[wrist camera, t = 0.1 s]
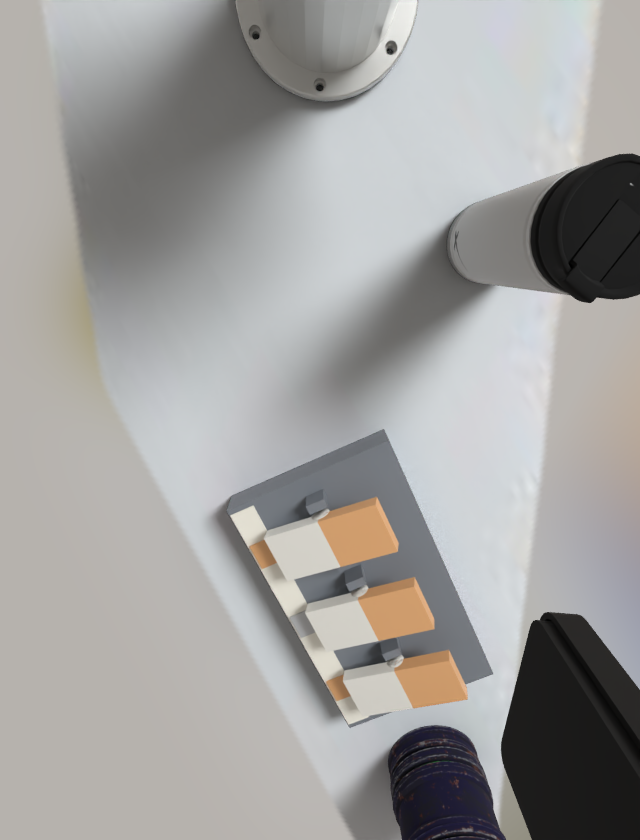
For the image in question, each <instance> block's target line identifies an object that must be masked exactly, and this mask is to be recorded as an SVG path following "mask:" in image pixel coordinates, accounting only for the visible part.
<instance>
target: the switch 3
mask: <svg viewBox="0 0 640 840" xmlns="http://www.w3.org/2000/svg"><path fill="white" fill-rule="evenodd" d="M343 683H344V684H345V686H346V688H347V690H348V692H349V693H350V695H351V697H352V699H353V701H354V702H355V704H356V706H357V708H358V710H359V711H360V713H361V715H362V717H364V716H370V715H376V714H382V713H388V712H394V711H400V710H406V709H412V708H418V707H424V706H430V705H436V704H443V703H449V702H455V701H461V700H467V699H468V697H467V687H466V685H465V683H464V681H463V679H462V677H461V674H460V672H459V670H458V668H457V666H456V664H455V662H454V660H453V657H452V655H451V653H450V651H449V650H446V651H440V652H435V653H430V654H425V655H420V656H415V657H410V658H405V659H404V657H403V656H402V655H400V656H398V657H395V658H392V659H390V660H387V662H385V663H380V664H375V665H370V666H365V667H360V668H355V669H350V670H345V671H344V677H343Z"/></svg>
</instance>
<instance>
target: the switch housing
mask: <svg viewBox="0 0 640 840" xmlns="http://www.w3.org/2000/svg"><path fill="white" fill-rule="evenodd" d="M374 497H377V498H378V500H379V502H380V504H381V506H382V509H383V511H384V513H385V515H386V517H387V519H388V521H389V523H390V526H391V528H392V530H393V532H394V534H395V536H396V538H397V540H398V543H399V544H398V552H395V553H391V554H388V555H384V556H380V557H376V558H373V559H369V560H365V561H361V562H358V563H354V564H350V565H346V566H343V567H339V568H335V569H332V570H328V571H324V572H320V573H317V574H313V575H309V576H305V577H302V578H298V579H294V580H290V581H287V580H286V578H285V576H284V574H283V572H282V571H281V569H280V567H279V565H278V563H277V561H276V560H275V558H274V556H273V554H272V552H271V551H270V549H269V547H268V545H267V543H266V542H265V540H264V537H265V535H266V533H267V531H268V530H270V529H274V528H277V527H280V526H283V525H287V524H290V523H293V522H296V521H300V520H303V519H306V518H309V517H312V515H313V514H314V513H315V512H318V511H320V510H323V509H325V508H328V509H329V510H330V511H332V510H335V509H339V508H342V507H345V506H348V505H352V504H355V503H358V502H361V501H365V500H368V499H371V498H374ZM227 513H228V514H229V516H230V518H231V520H232V521H233V523H234V525H235V527H236V528H237V530H238V532H239V534H240V535H241V537H242V539H243V541H244V543H245V544H246V546H247V548H248V550H249V551H250V553H251V555H252V557H253V558H254V560H255V562H256V564H257V565H258V567H259V569H260V571H261V573H262V574H263V576H264V578H265V580H266V581H267V583H268V585H269V587H270V588H271V590H272V592H273V594H274V595H275V597H276V599H277V601H278V602H279V604H280V606H281V608H282V610H283V611H284V613H285V615H286V617H287V618H288V620H289V622H290V624H291V625H292V627H293V629H294V631H295V632H296V634H297V636H298V638H299V639H300V641H301V643H302V645H303V647H304V648H305V650H306V652H307V654H308V655H309V657H310V659H311V661H312V662H313V664H314V666H315V668H316V669H317V671H318V673H319V675H320V676H321V678H322V680H323V682H324V684H325V685H326V687H327V689H328V691H329V692H330V694H331V696H332V698H333V699H334V701H335V703H336V705H337V706H338V708H339V710H340V712H341V714H342V715H343V717H344V719H345V721H346V722H347V724H348V726H349V728H351V727H353V726H356V725H359V724H361V723H364V722H367V721H369V720H372V719H375V718H377V717H380V716H383V715H385V714H388V713H391V712H388V713H382V714H376V715H370V716H364V717H362V715H361V713H360V711H359V710H358V708H357V706H356V704H355V702H354V701H353V699H352V697H351V695H350V693H349V692H348V690H347V688H346V686H345V684H344V683H343V677H344V671H345V670H350V669H355V668H360V667H365V666H370V665H375V664H380V663H385V662H387V660H390V659H392V658H395V657H398V656H400V655H402V656H403V657H404V659H405V658H410V657H415V656H420V655H425V654H430V653H435V652H440V651H446V650H449V651H450V653H451V655H452V657H453V660H454V662H455V664H456V666H457V668H458V670H459V672H460V674H461V677H462V679H463V681H464V683H465V684H468V683H471V682H473V681H476V680H479V679H481V678H484V677H487V676H489V675H492V674H493V672H492V670H491V667H490V665H489V663H488V661H487V658H486V656H485V654H484V652H483V649H482V647H481V645H480V643H479V640H478V638H477V636H476V634H475V632H474V629H473V627H472V625H471V623H470V620H469V618H468V616H467V614H466V611H465V609H464V607H463V605H462V602H461V600H460V598H459V596H458V594H457V591H456V589H455V587H454V585H453V582H452V580H451V578H450V576H449V573H448V571H447V569H446V567H445V564H444V562H443V560H442V558H441V556H440V553H439V551H438V549H437V547H436V544H435V542H434V540H433V538H432V535H431V533H430V531H429V529H428V527H427V524H426V522H425V520H424V518H423V515H422V513H421V511H420V509H419V506H418V504H417V502H416V500H415V497H414V495H413V493H412V491H411V489H410V486H409V484H408V482H407V480H406V477H405V475H404V473H403V471H402V468H401V466H400V464H399V462H398V460H397V457H396V455H395V453H394V451H393V448H392V446H391V444H390V442H389V439H388V437H387V435H386V433H385V430H384V429H383V430H381V431H379V432H376V433H374V434H372V435H370V436H367V437H365V438H363V439H360V440H358V441H356V442H354V443H351V444H349V445H347V446H344V447H342V448H340V449H338V450H335V451H333V452H331V453H328V454H326V455H324V456H322V457H319V458H317V459H315V460H312V461H310V462H308V463H306V464H303V465H301V466H299V467H296V468H294V469H292V470H290V471H287V472H285V473H283V474H281V475H278V476H276V477H274V478H271V479H269V480H267V481H265V482H262V483H260V484H258V485H255V486H253V487H251V488H249V489H246V490H244V491H242V492H239V493H237V494H235V495H233V496H231V499H230V502H229V505H228V508H227ZM413 577H415V579H416V581H417V583H418V585H419V587H420V589H421V591H422V594H423V596H424V598H425V600H426V602H427V604H428V606H429V608H430V611H431V613H432V615H433V617H434V629H433V630H428V631H423V632H419V633H414V634H409V635H405V636H400V637H395V638H391V639H386V640H381V641H377V642H372V643H367V644H362V645H358V646H353V647H348V648H344V649H339V650H334V651H330V652H326V650H325V648H324V646H323V645H322V643H321V641H320V639H319V637H318V636H317V634H316V632H315V630H314V628H313V627H312V625H311V623H310V621H309V619H308V617H307V616H306V614H305V612H306V608H307V605H308V603H312V602H316V601H320V600H324V599H328V598H332V597H336V596H340V595H344V594H348V593H351V591H352V590H354V589H357V588H359V587H362V586H364V585H367V586H368V588H373V587H377V586H381V585H385V584H389V583H393V582H397V581H401V580H405V579H409V578H413Z"/></svg>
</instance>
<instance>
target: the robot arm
mask: <svg viewBox="0 0 640 840" xmlns="http://www.w3.org/2000/svg"><path fill="white" fill-rule="evenodd" d="M235 1H236V8H237V13H238V18H239V23H240V26H241V30H242V33H243V36H244V39H245V41H246V43H247V45H248V47H249V49H250V51H251V53H252V55H253V57H254V58H255V60H256V61H257V62H258V64H259V65H260V67H261V68H262V69H263V71H264V72H265V73H266V74H267V75H268V76H269V77H270V78H271V79H272V80H273V81H275V82H276V83H277V84H278V85H280V86H281V87H283V88H284V89H286V90H287V91H289V92H291V93H293V94H295V95H298V96H300V97H303V98H306V99H310V100H317V101H340V100H343V99H347V98H351V97H354V96H357V95H359V94H360V93H362V92H364V91H366V90H368V89H370V88H371V87H373V86H374V85H375V84H376V83H378V82H379V81H380V80H381V79H383V78H384V77H385V76H386V74H387V73H388V72H389V71H390V70H391V69H392V67H393V66H394V65H395V64H396V62H397V61H398V59H399V57H400V56H401V54H402V52H403V50H404V49H405V47H406V44H407V42H408V40H409V37H410V35H411V33H412V29H413V26H414V22H415V19H416V15H417V8H418V0H235ZM254 34H259V36H260V37H259V39H256V40H254V39H253V35H254ZM387 49H392V51H393V54H392V55H389V54H387V52H386V50H387ZM318 85H321V86H322V87H323V90H322V91H320V92H319V91H317V89H316V87H317V86H318ZM501 754H502V761H503V764H504V768H505V770H506V773H507V776H508V778H509V780H510V783H511V786H512V788H513V791H514V794H515V796H516V799H517V802H518V804H519V807H520V809H521V812H522V815H523V817H524V820H525V822H526V825H527V828H528V830H529V833H530V835H531V838H532V840H640V690H639V688H638V687H637V686H636V684H635V683H634V682H633V681H632V679H631V678H630V677H629V675H628V674H627V673H626V671H625V670H624V669H623V668H622V666H621V665H620V664H619V662H618V661H617V660H616V658H615V657H614V656H613V655H612V654H611V652H610V651H609V649H608V648H607V647H606V646H605V644H604V643H603V642H602V640H601V639H600V638H599V636H598V635H597V634H596V632H595V631H594V630H593V629H592V627H591V626H590V625H589V623H588V622H587V621H586V620H585V619H584V618H583V617H582V616H581V615H577V614H565V613H552V612H547V613H544V614H543V615H542V617H541V619H540V620H535V621H533V622H532V624H531V626H530V630H529V634H528V638H527V642H526V646H525V650H524V654H523V658H522V662H521V666H520V670H519V674H518V677H517V681H516V685H515V689H514V693H513V697H512V701H511V705H510V709H509V713H508V717H507V721H506V725H505V729H504V733H503V737H502V742H501Z"/></svg>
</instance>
